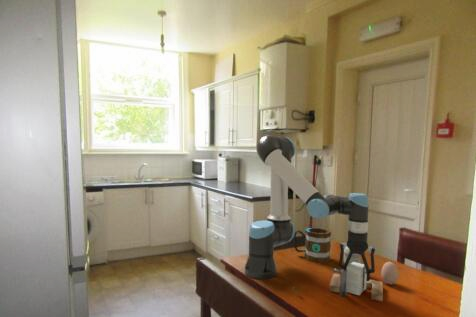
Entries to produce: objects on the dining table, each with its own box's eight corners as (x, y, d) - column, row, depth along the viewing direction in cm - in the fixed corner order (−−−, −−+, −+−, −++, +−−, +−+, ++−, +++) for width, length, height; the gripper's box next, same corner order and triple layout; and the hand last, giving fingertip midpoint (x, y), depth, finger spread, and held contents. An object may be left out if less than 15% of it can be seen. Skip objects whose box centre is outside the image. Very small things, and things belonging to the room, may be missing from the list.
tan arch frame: (329, 290, 129) (329, 284, 129) (333, 278, 142) (333, 273, 142) (382, 301, 121) (382, 295, 121) (382, 287, 134) (382, 281, 134)
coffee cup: (362, 277, 144) (363, 251, 144) (343, 275, 146) (344, 249, 146) (359, 270, 153) (360, 246, 152) (341, 268, 154) (342, 244, 154)
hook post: (332, 294, 126) (332, 269, 126) (332, 291, 128) (333, 267, 128) (345, 297, 124) (346, 271, 123) (346, 294, 126) (347, 269, 126)
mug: (330, 256, 173) (331, 229, 173) (329, 264, 161) (330, 235, 160) (295, 251, 180) (295, 225, 180) (291, 259, 167) (292, 231, 167)
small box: (351, 285, 134) (352, 261, 134) (365, 289, 131) (366, 264, 131) (345, 291, 128) (346, 266, 128) (359, 296, 124) (360, 269, 124)
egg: (378, 283, 137) (379, 261, 137) (384, 279, 142) (385, 258, 142) (394, 288, 133) (395, 266, 132) (400, 284, 137) (401, 262, 137)
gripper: (332, 230, 129) (330, 285, 130) (384, 236, 122) (381, 295, 122) (334, 226, 136) (332, 278, 137) (383, 232, 128) (381, 287, 129)
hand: (355, 286), depth 129 cm, fingers closed on small box, 6 cm apart
